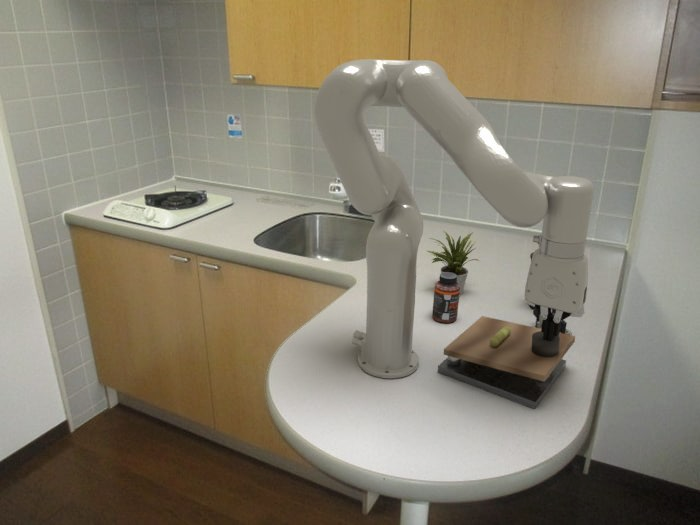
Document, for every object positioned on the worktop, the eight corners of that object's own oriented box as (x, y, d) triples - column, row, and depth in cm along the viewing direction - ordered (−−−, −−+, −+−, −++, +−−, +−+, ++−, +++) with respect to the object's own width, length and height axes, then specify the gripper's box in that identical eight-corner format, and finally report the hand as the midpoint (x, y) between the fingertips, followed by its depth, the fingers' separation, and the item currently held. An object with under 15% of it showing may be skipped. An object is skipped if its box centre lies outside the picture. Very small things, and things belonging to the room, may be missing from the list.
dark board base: (437, 372, 116) (439, 354, 115) (475, 337, 130) (477, 320, 128) (534, 409, 105) (537, 389, 104) (565, 366, 119) (568, 349, 117)
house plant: (441, 275, 162) (445, 219, 156) (487, 287, 155) (494, 230, 149) (416, 292, 152) (420, 233, 145) (465, 306, 144) (471, 245, 138)
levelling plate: (443, 354, 114) (443, 335, 112) (481, 320, 127) (482, 303, 126) (544, 381, 102) (545, 360, 101) (574, 341, 116) (576, 322, 114)
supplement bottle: (451, 326, 134) (455, 282, 130) (428, 320, 137) (431, 276, 133) (460, 316, 139) (465, 273, 135) (437, 310, 142) (441, 268, 138)
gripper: (513, 244, 104) (504, 333, 110) (600, 262, 95) (584, 357, 102) (529, 233, 109) (519, 319, 116) (612, 249, 101) (596, 340, 108)
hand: (549, 337), depth 109 cm, fingers closed
